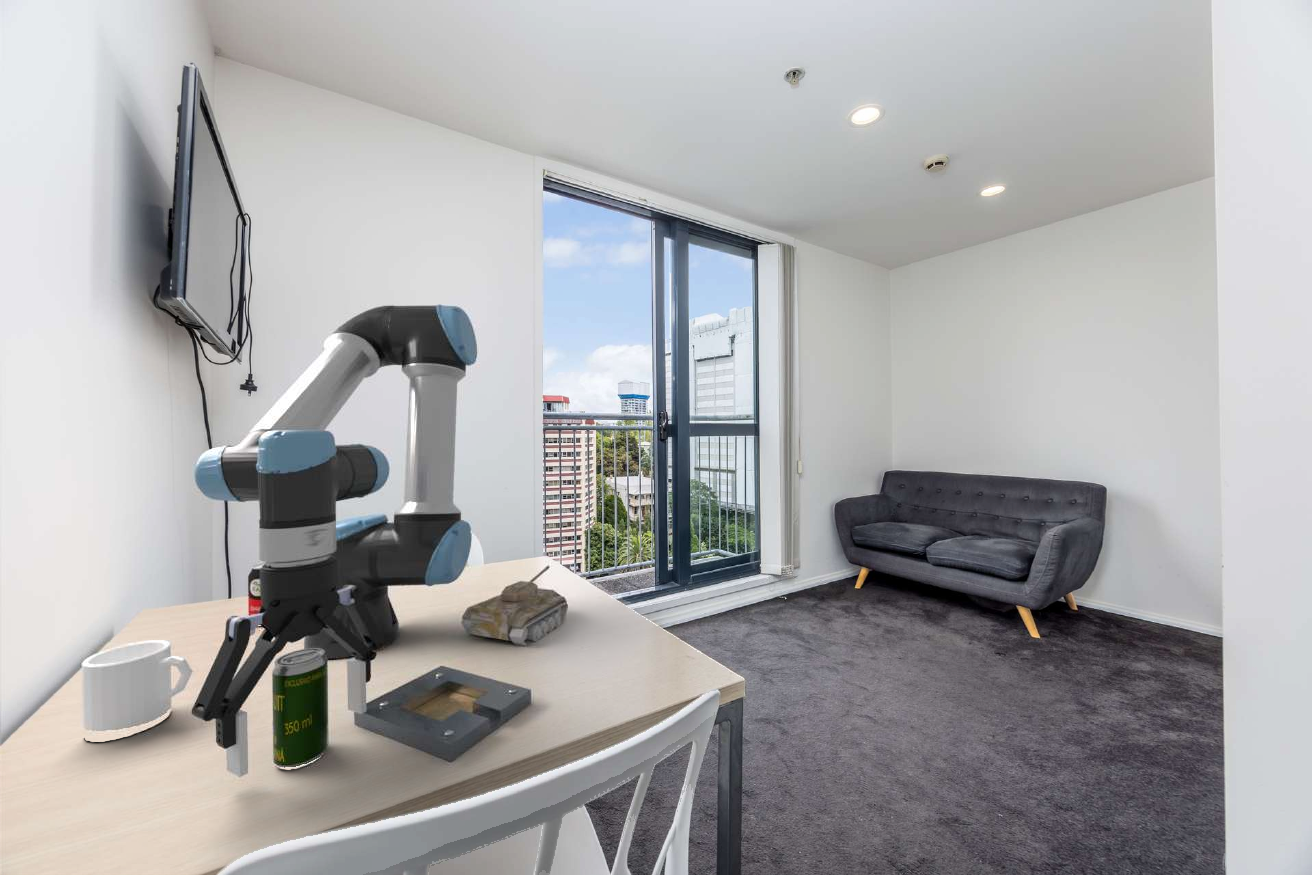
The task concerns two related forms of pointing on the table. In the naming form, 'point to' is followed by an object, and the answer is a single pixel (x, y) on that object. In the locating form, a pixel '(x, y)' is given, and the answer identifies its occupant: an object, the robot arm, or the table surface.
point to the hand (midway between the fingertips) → (303, 738)
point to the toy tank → (517, 613)
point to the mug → (130, 685)
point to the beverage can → (254, 590)
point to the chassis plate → (444, 711)
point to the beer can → (300, 707)
